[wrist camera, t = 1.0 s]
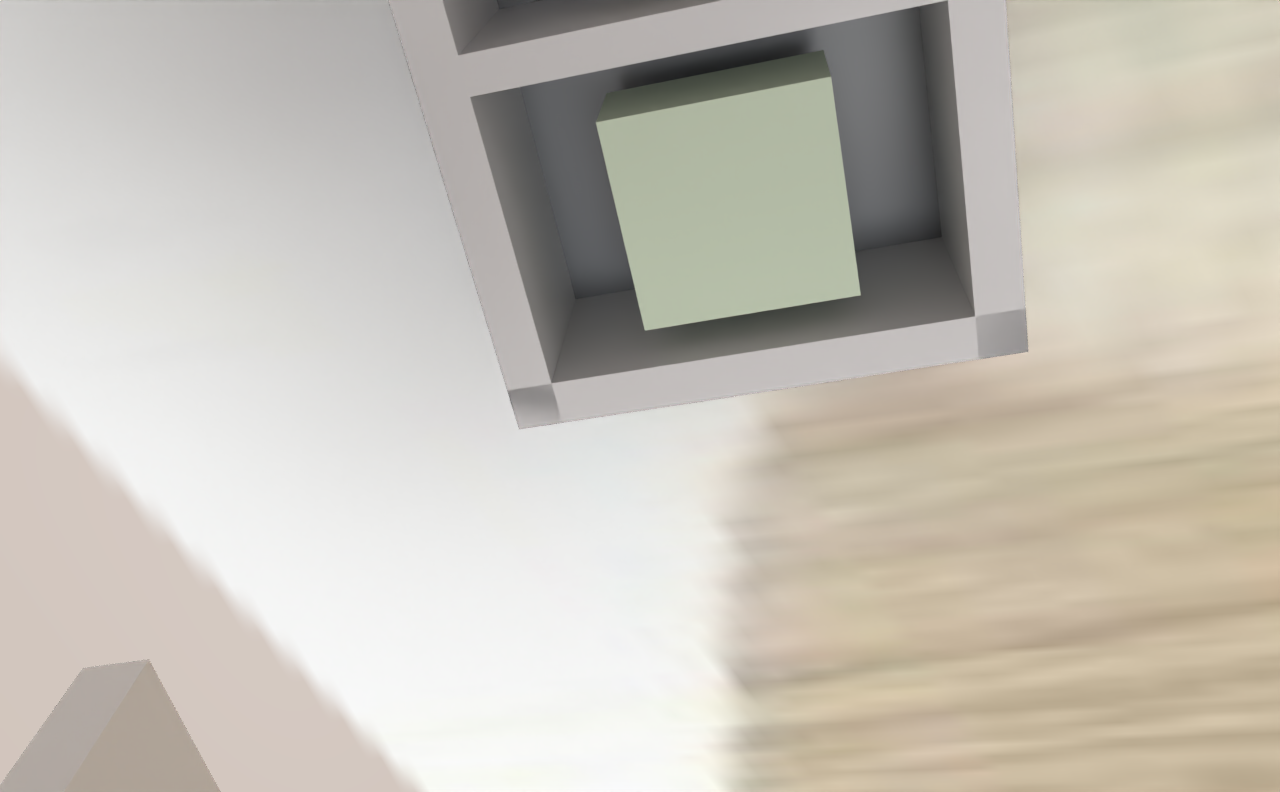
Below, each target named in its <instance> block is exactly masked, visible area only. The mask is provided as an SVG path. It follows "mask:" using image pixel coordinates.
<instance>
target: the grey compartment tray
mask: <svg viewBox="0 0 1280 792" xmlns="http://www.w3.org/2000/svg"><path fill="white" fill-rule="evenodd" d="M388 2H389V5H390V8H391V11H392V15H393V18H394V21H395V24H396V28H397V31H398V34H399V38H400V41H401V44H402V47H403V51H404V54H405V57H406V60H407V64H408V67H409V70H410V74H411V77H412V80H413V83H414V87H415V90H416V93H417V96H418V100H419V103H420V106H421V109H422V113H423V116H424V119H425V123H426V126H427V129H428V132H429V136H430V139H431V142H432V145H433V149H434V152H435V155H436V159H437V162H438V165H439V168H440V172H441V175H442V178H443V181H444V185H445V188H446V191H447V195H448V198H449V201H450V204H451V208H452V211H453V214H454V217H455V221H456V224H457V227H458V231H459V234H460V237H461V240H462V244H463V247H464V250H465V253H466V257H467V260H468V263H469V267H470V270H471V273H472V276H473V280H474V283H475V286H476V289H477V293H478V296H479V299H480V303H481V306H482V309H483V312H484V316H485V319H486V322H487V325H488V329H489V332H490V335H491V339H492V342H493V345H494V348H495V352H496V355H497V358H498V361H499V365H500V368H501V371H502V375H503V378H504V381H505V384H506V388H507V391H508V394H509V397H510V401H511V404H512V407H513V411H514V414H515V417H516V420H517V424H518V427H519V429H524V428H531V427H537V426H544V425H550V424H557V423H563V422H570V421H577V420H583V419H590V418H596V417H603V416H609V415H616V414H623V413H629V412H636V411H642V410H649V409H655V408H662V407H669V406H675V405H682V404H688V403H695V402H701V401H708V400H715V399H721V398H728V397H734V396H741V395H747V394H754V393H761V392H767V391H774V390H780V389H787V388H793V387H800V386H807V385H813V384H820V383H826V382H833V381H839V380H846V379H853V378H859V377H866V376H872V375H879V374H885V373H892V372H899V371H905V370H912V369H918V368H925V367H931V366H938V365H944V364H951V363H958V362H964V361H971V360H977V359H984V358H990V357H997V356H1004V355H1010V354H1017V353H1023V352H1028V339H1027V324H1026V308H1025V292H1024V276H1023V261H1022V245H1021V229H1020V214H1019V198H1018V182H1017V166H1016V151H1015V135H1014V119H1013V103H1012V88H1011V72H1010V56H1009V41H1008V25H1007V9H1006V0H388ZM821 50H824V54H825V57H826V61H827V64H828V68H829V71H830V74H831V79H832V87H833V94H834V101H835V109H836V116H837V123H838V131H839V138H840V145H841V153H842V160H843V167H844V175H845V182H846V190H847V197H848V204H849V212H850V219H851V226H852V234H853V241H854V248H855V256H856V263H857V270H858V278H859V285H860V292H861V295H860V296H854V297H847V298H841V299H835V300H829V301H823V302H817V303H811V304H805V305H799V306H792V307H786V308H780V309H774V310H768V311H762V312H756V313H750V314H744V315H737V316H731V317H725V318H719V319H713V320H707V321H701V322H695V323H689V324H682V325H676V326H670V327H664V328H658V329H652V330H646V331H645V329H644V325H643V321H642V317H641V312H640V308H639V304H638V300H637V295H636V291H635V287H634V283H633V278H632V274H631V270H630V266H629V261H628V257H627V253H626V249H625V244H624V240H623V236H622V232H621V227H620V223H619V219H618V215H617V210H616V206H615V202H614V198H613V193H612V189H611V185H610V181H609V176H608V172H607V168H606V164H605V159H604V155H603V151H602V147H601V142H600V138H599V134H598V130H597V125H596V121H597V118H598V115H599V112H600V110H601V107H602V104H603V101H604V99H605V96H606V93H610V92H615V91H620V90H625V89H630V88H635V87H640V86H645V85H650V84H655V83H660V82H665V81H670V80H675V79H680V78H685V77H690V76H695V75H700V74H705V73H710V72H715V71H720V70H725V69H731V68H736V67H741V66H746V65H751V64H756V63H761V62H766V61H771V60H776V59H781V58H786V57H791V56H796V55H801V54H806V53H811V52H816V51H821Z"/></svg>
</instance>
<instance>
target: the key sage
mask: <svg viewBox="0 0 1280 792" xmlns="http://www.w3.org/2000/svg"><path fill="white" fill-rule="evenodd" d="M596 125H597V130H598V134H599V138H600V142H601V147H602V151H603V155H604V159H605V164H606V168H607V172H608V176H609V181H610V185H611V189H612V193H613V198H614V202H615V206H616V210H617V215H618V219H619V223H620V227H621V232H622V236H623V240H624V244H625V249H626V253H627V257H628V261H629V266H630V270H631V274H632V278H633V283H634V287H635V291H636V295H637V300H638V304H639V308H640V312H641V317H642V321H643V325H644V329H645V331H646V330H652V329H658V328H664V327H670V326H676V325H682V324H689V323H695V322H701V321H707V320H713V319H719V318H725V317H731V316H737V315H744V314H750V313H756V312H762V311H768V310H774V309H780V308H786V307H792V306H799V305H805V304H811V303H817V302H823V301H829V300H835V299H841V298H847V297H854V296H860V295H861V292H860V285H859V278H858V270H857V263H856V256H855V248H854V241H853V234H852V226H851V219H850V212H849V204H848V197H847V190H846V182H845V175H844V167H843V160H842V153H841V145H840V138H839V131H838V123H837V116H836V109H835V101H834V94H833V87H832V79H831V74H830V71H829V68H828V64H827V61H826V57H825V54H824V50H821V51H816V52H811V53H806V54H801V55H796V56H791V57H786V58H781V59H776V60H771V61H766V62H761V63H756V64H751V65H746V66H741V67H736V68H731V69H725V70H720V71H715V72H710V73H705V74H700V75H695V76H690V77H685V78H680V79H675V80H670V81H665V82H660V83H655V84H650V85H645V86H640V87H635V88H630V89H625V90H620V91H615V92H610V93H606V96H605V99H604V101H603V104H602V107H601V110H600V112H599V115H598V118H597V121H596Z"/></svg>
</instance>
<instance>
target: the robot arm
mask: <svg viewBox="0 0 1280 792" xmlns="http://www.w3.org/2000/svg"><path fill="white" fill-rule="evenodd" d="M0 792H220V790H219V788H218V786H217V784H216V782H215V781H214V779H213V777H212V775H211V773H210V771H209V770H208V768H207V766H206V764H205V762H204V760H203V759H202V757H201V755H200V753H199V751H198V749H197V748H196V746H195V744H194V742H193V740H192V739H191V736H190V735H189V733H188V731H187V729H186V727H185V725H184V724H183V722H182V720H181V718H180V716H179V714H178V713H177V711H176V709H175V707H174V705H173V703H172V701H171V700H170V698H169V696H168V694H167V692H166V690H165V688H164V687H163V685H162V683H161V682H160V679H159V678H158V676H157V674H156V672H155V670H154V668H153V666H152V665H151V663H150V661H149V660H141V661H133V662H126V663H118V664H111V665H103V666H96V667H88V668H83V669H82V670H81V672H80V673H79V674H78V676H77V677H76V679H75V680H74V682H73V683H72V684H71V686H70V687H69V689H68V690H67V691H66V693H65V694H64V696H63V697H62V698H61V700H60V701H59V703H58V704H57V705H56V707H55V708H54V710H53V711H52V713H51V714H50V715H49V717H48V718H47V720H46V721H45V723H44V724H43V725H42V727H41V728H40V729H39V731H38V732H37V734H36V735H35V737H34V738H33V739H32V741H31V742H30V744H29V745H28V747H27V748H26V749H25V751H24V752H23V754H22V755H21V756H20V758H19V759H18V761H17V762H16V763H15V765H14V766H13V768H12V769H11V770H10V772H9V773H8V775H7V776H6V777H5V779H4V780H3V782H2V783H1V785H0Z"/></svg>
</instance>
